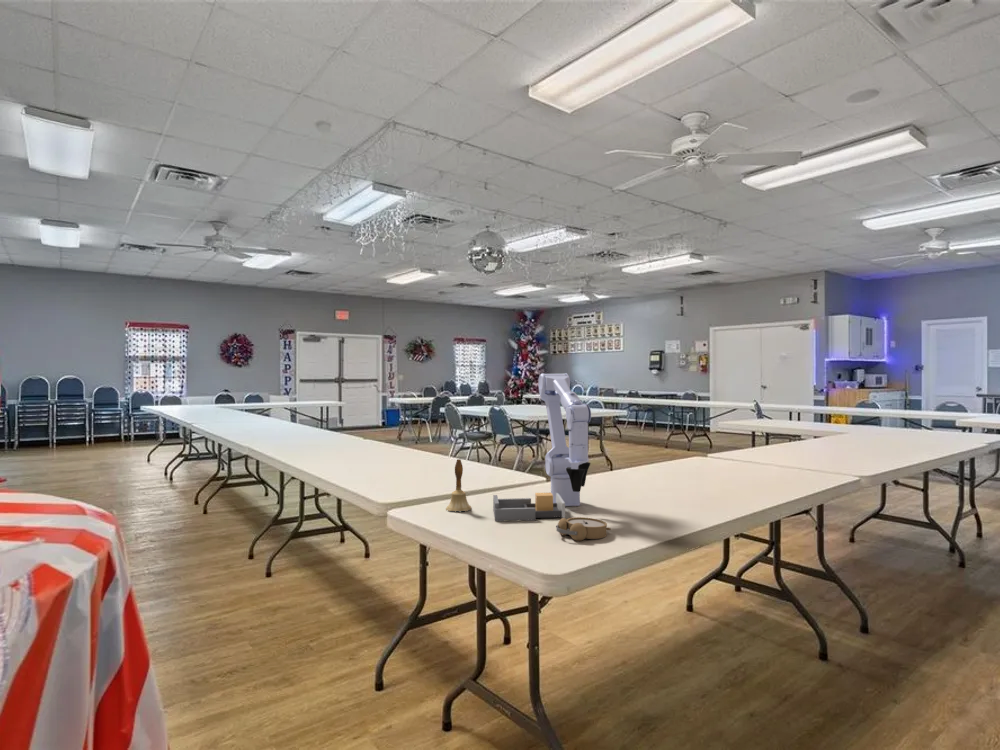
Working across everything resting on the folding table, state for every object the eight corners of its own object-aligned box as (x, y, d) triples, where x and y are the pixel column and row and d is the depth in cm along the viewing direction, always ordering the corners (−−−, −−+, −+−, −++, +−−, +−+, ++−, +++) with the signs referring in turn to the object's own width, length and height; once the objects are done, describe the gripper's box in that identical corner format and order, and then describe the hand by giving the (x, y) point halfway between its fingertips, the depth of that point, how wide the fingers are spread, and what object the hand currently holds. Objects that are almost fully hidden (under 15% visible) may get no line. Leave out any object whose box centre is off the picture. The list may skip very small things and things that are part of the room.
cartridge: (551, 508, 177) (551, 492, 177) (553, 511, 173) (553, 495, 173) (535, 508, 177) (535, 492, 176) (536, 512, 173) (536, 495, 172)
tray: (558, 507, 181) (558, 493, 181) (565, 518, 169) (565, 503, 168) (522, 508, 181) (522, 493, 181) (527, 519, 168) (526, 504, 168)
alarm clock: (616, 525, 153) (574, 524, 145) (614, 543, 152) (572, 543, 144) (588, 516, 162) (547, 514, 154) (586, 533, 162) (545, 532, 154)
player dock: (530, 509, 181) (530, 493, 181) (535, 520, 168) (535, 503, 168) (493, 509, 180) (493, 494, 180) (495, 521, 167) (494, 504, 167)
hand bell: (447, 505, 186) (447, 457, 186) (472, 505, 186) (472, 457, 185) (444, 512, 178) (443, 462, 177) (470, 512, 178) (470, 461, 177)
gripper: (569, 440, 180) (570, 483, 180) (560, 447, 166) (560, 493, 166) (592, 441, 177) (592, 484, 178) (584, 447, 164) (584, 494, 164)
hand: (578, 488), depth 172 cm, fingers open, 7 cm apart
